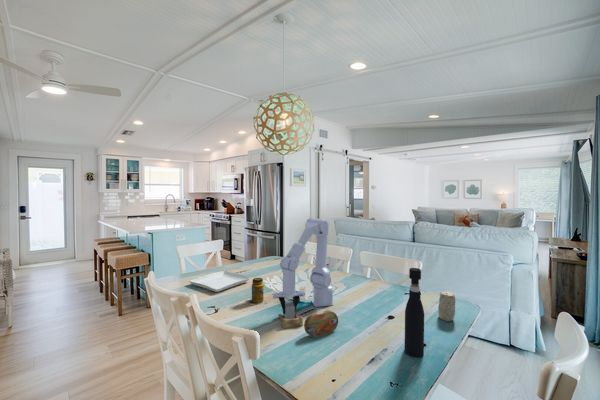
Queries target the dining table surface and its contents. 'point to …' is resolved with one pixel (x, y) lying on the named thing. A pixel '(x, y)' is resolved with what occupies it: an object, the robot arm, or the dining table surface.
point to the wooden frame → (291, 321)
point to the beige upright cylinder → (446, 306)
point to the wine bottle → (414, 317)
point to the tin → (320, 323)
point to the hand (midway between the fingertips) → (288, 312)
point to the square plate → (220, 280)
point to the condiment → (257, 292)
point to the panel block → (289, 310)
